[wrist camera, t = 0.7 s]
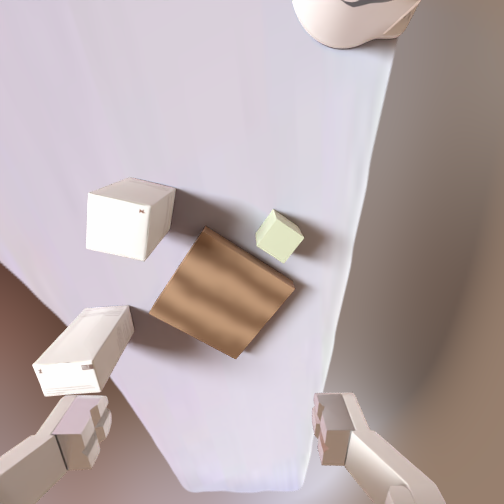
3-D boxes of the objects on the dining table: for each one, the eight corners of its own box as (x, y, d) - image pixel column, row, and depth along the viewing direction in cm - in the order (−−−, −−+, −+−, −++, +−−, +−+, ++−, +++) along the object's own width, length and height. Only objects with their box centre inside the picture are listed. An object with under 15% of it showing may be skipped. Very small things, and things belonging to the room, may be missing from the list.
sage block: (273, 208, 46) (276, 218, 41) (297, 225, 48) (304, 237, 42) (255, 233, 48) (256, 246, 42) (279, 249, 49) (283, 263, 43)
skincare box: (93, 332, 55) (41, 399, 41) (84, 305, 52) (27, 365, 38) (137, 330, 55) (101, 396, 41) (131, 302, 52) (90, 362, 38)
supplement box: (128, 175, 44) (86, 189, 32) (177, 187, 45) (153, 206, 33) (124, 221, 47) (83, 249, 35) (170, 231, 47) (145, 263, 36)
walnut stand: (205, 225, 47) (203, 231, 44) (292, 280, 51) (295, 289, 48) (153, 304, 52) (148, 313, 50) (236, 348, 57) (235, 359, 54)
